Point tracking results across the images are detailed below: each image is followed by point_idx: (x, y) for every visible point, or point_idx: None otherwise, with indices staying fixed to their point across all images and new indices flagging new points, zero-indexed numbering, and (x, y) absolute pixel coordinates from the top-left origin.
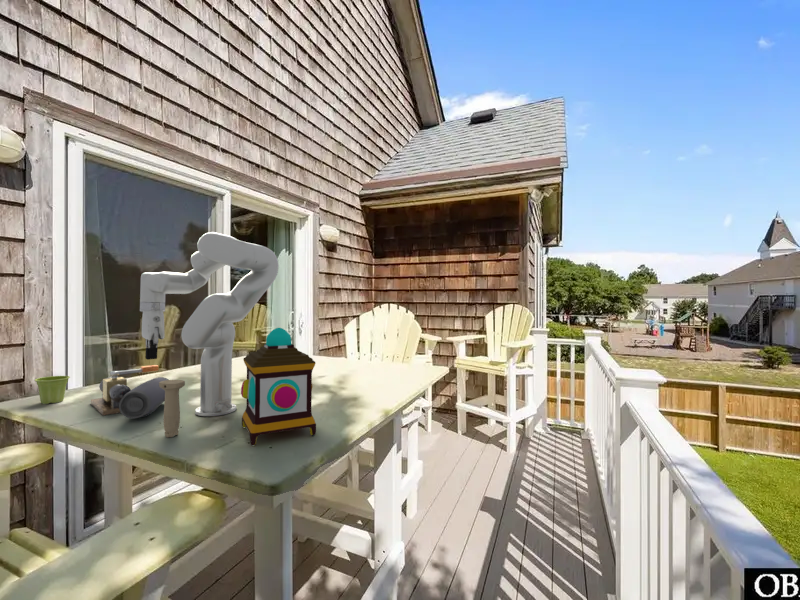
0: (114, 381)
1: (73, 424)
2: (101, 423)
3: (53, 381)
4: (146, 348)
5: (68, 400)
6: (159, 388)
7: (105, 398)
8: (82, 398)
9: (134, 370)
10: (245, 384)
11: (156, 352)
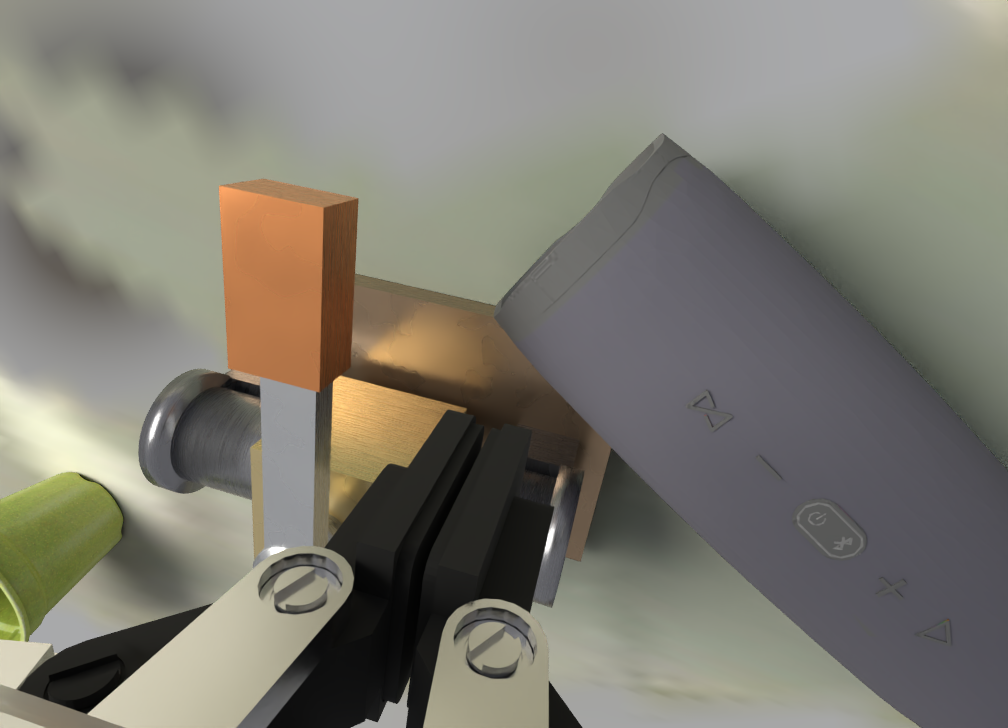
0: None
1: (630, 667)
2: (746, 619)
3: (28, 619)
4: (382, 703)
5: (98, 462)
6: (957, 460)
7: None
8: (90, 409)
9: (315, 445)
10: None
11: (503, 506)
